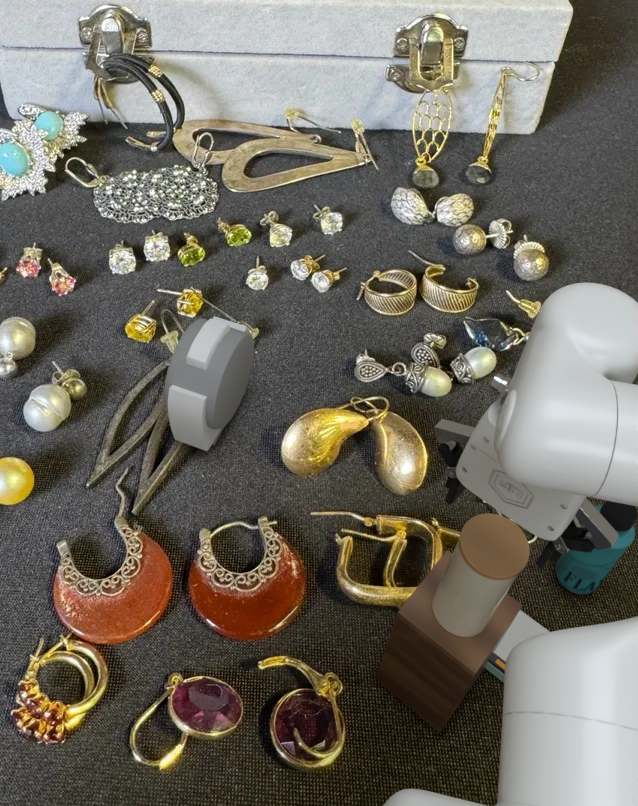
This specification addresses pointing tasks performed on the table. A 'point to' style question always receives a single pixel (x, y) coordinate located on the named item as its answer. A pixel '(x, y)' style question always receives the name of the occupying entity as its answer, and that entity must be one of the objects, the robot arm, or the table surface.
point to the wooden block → (437, 653)
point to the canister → (479, 573)
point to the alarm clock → (207, 379)
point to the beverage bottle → (598, 552)
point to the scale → (513, 642)
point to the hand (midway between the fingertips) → (500, 524)
